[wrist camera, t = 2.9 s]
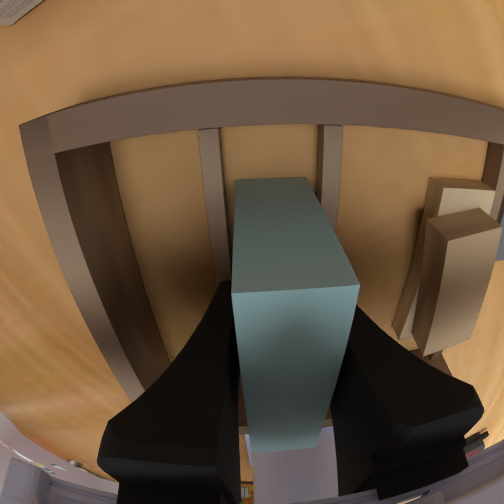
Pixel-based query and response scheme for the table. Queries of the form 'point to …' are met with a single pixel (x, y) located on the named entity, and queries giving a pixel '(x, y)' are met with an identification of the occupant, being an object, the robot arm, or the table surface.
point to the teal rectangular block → (288, 310)
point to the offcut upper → (454, 277)
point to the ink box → (15, 10)
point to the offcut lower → (437, 204)
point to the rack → (205, 183)
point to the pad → (503, 220)
